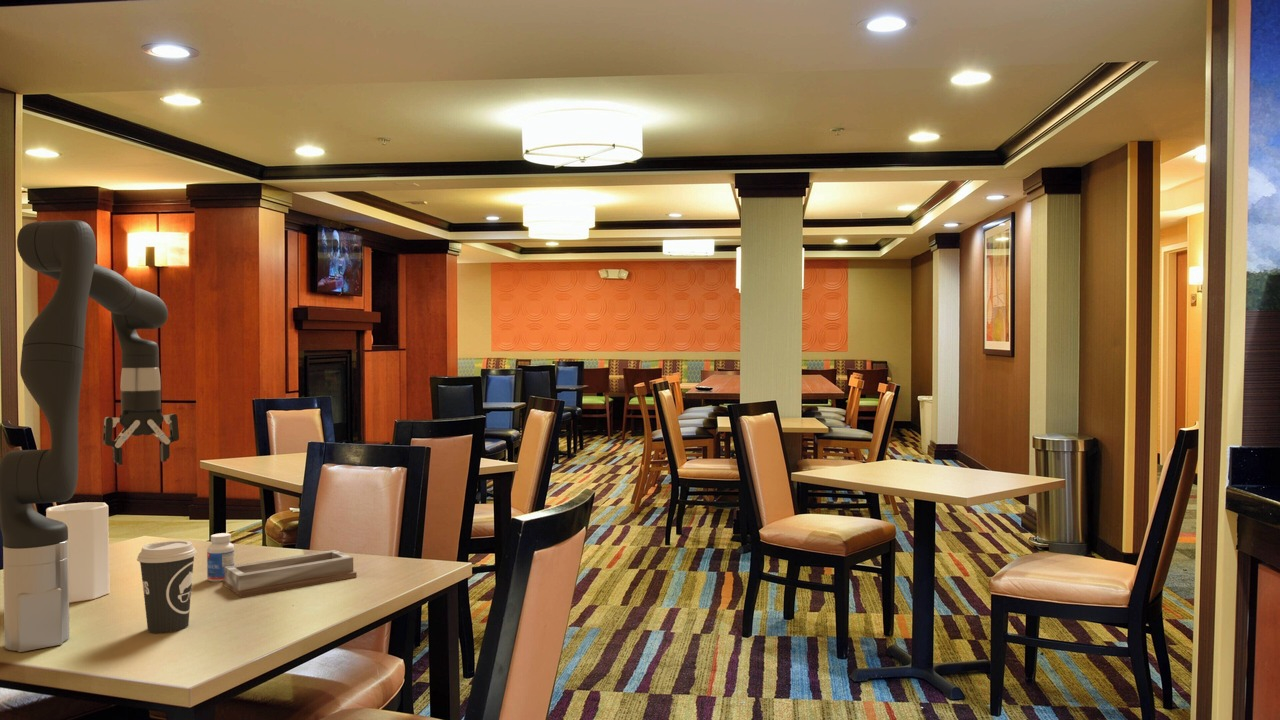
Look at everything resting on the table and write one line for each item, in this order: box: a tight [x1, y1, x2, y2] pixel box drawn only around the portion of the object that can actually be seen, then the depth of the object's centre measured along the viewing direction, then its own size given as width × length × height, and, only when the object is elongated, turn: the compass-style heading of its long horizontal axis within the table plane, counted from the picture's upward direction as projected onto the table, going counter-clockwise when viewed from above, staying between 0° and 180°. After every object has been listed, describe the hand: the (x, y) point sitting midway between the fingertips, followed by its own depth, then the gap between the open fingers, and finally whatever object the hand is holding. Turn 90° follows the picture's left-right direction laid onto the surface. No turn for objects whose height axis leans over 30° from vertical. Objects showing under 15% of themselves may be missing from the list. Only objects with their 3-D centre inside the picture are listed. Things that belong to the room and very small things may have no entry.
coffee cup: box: [136, 540, 198, 634], centre depth 158 cm, size 10×10×15 cm
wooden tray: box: [222, 549, 358, 598], centre depth 191 cm, size 14×24×4 cm, turn 130°
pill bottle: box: [206, 532, 235, 583], centre depth 193 cm, size 6×5×10 cm
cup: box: [45, 501, 110, 604], centre depth 180 cm, size 11×11×18 cm
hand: (142, 463), depth 190 cm, fingers open, 8 cm apart
